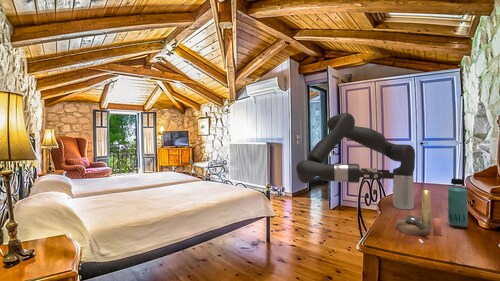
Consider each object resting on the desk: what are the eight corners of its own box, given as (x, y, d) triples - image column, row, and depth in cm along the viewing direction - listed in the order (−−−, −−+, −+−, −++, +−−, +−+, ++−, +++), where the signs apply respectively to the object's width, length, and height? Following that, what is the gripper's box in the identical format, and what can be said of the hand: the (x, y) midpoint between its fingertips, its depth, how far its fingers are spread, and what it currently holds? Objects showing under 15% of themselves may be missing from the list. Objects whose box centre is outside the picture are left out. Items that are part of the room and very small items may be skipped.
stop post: (432, 233, 98) (431, 218, 98) (438, 233, 98) (438, 218, 98) (436, 236, 96) (436, 220, 96) (443, 235, 96) (442, 220, 96)
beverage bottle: (458, 224, 108) (458, 177, 107) (473, 229, 101) (472, 179, 101) (443, 224, 107) (443, 177, 107) (457, 230, 101) (456, 180, 101)
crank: (402, 220, 104) (402, 185, 104) (414, 220, 105) (414, 184, 104) (422, 231, 93) (421, 191, 92) (436, 230, 93) (435, 190, 92)
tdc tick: (418, 239, 93) (418, 239, 93) (421, 239, 93) (421, 239, 93) (420, 242, 90) (420, 242, 90) (423, 243, 90) (423, 242, 90)
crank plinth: (391, 226, 107) (391, 219, 107) (417, 225, 108) (417, 218, 108) (407, 236, 96) (407, 228, 96) (436, 235, 97) (436, 227, 97)
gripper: (346, 165, 96) (395, 166, 91) (346, 162, 110) (388, 162, 104) (347, 185, 96) (395, 187, 91) (346, 179, 110) (388, 180, 104)
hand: (391, 174), depth 97 cm, fingers open, 8 cm apart
